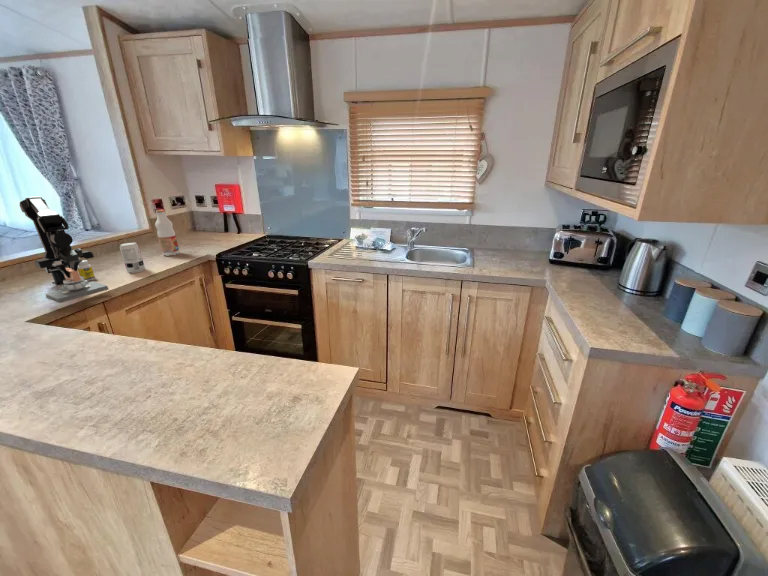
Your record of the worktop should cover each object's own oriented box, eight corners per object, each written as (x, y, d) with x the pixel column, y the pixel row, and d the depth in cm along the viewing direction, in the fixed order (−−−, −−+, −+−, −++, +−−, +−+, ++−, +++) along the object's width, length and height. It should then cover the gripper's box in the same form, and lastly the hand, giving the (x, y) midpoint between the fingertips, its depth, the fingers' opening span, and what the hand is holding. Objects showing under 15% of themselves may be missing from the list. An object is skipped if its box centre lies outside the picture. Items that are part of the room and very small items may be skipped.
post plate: (46, 296, 150) (42, 288, 148) (94, 284, 164) (91, 276, 163) (59, 302, 143) (56, 293, 142) (108, 288, 158) (105, 280, 156)
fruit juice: (161, 254, 215) (149, 210, 204) (177, 251, 221) (166, 208, 211) (165, 257, 208) (153, 211, 198) (181, 254, 214) (170, 209, 204)
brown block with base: (68, 292, 147) (61, 274, 144) (58, 289, 151) (51, 271, 148) (93, 286, 154) (87, 268, 151) (83, 282, 159) (77, 265, 156)
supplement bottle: (87, 281, 168) (80, 262, 164) (79, 281, 169) (72, 262, 165) (98, 278, 173) (91, 259, 169) (89, 277, 174) (83, 259, 170)
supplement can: (123, 272, 181) (115, 245, 176) (139, 267, 188) (131, 241, 183) (133, 273, 178) (125, 246, 173) (148, 269, 185) (141, 242, 180)
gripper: (38, 250, 134) (53, 286, 140) (93, 240, 149) (105, 273, 155) (27, 247, 139) (42, 282, 145) (82, 238, 154) (93, 270, 160)
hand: (72, 277), depth 151 cm, fingers closed on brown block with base, 2 cm apart
